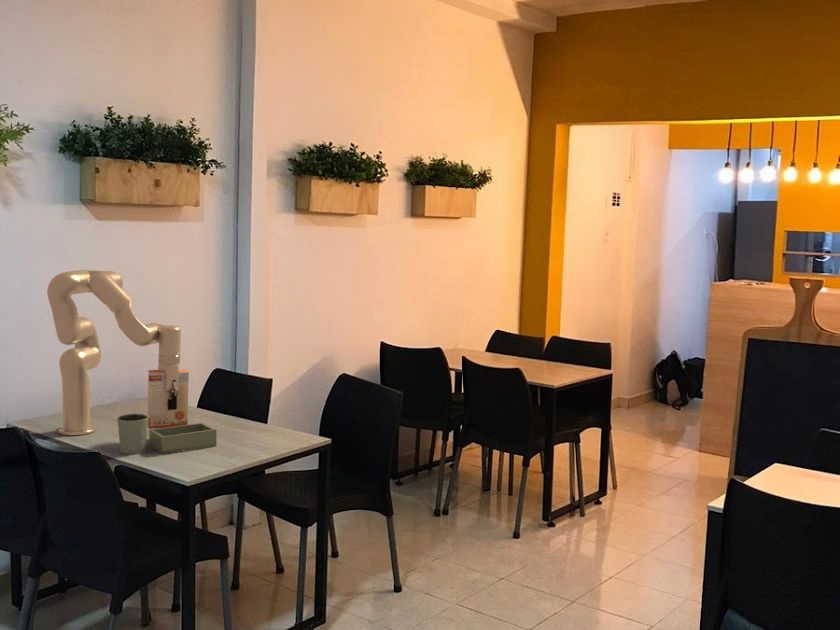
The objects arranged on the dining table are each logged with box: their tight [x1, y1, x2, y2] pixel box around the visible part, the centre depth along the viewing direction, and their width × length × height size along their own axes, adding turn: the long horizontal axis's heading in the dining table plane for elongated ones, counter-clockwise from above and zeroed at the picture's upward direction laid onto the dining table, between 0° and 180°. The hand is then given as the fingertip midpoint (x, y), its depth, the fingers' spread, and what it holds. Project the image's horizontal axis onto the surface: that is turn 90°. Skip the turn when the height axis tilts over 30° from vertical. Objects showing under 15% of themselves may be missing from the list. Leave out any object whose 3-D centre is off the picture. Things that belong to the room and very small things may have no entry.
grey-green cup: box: [116, 413, 148, 455], centre depth 294 cm, size 10×10×12 cm
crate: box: [148, 422, 217, 455], centre depth 302 cm, size 12×20×6 cm, turn 129°
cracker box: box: [147, 369, 190, 430], centre depth 310 cm, size 14×6×21 cm, turn 111°
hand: (167, 406), depth 310 cm, fingers closed on cracker box, 7 cm apart
